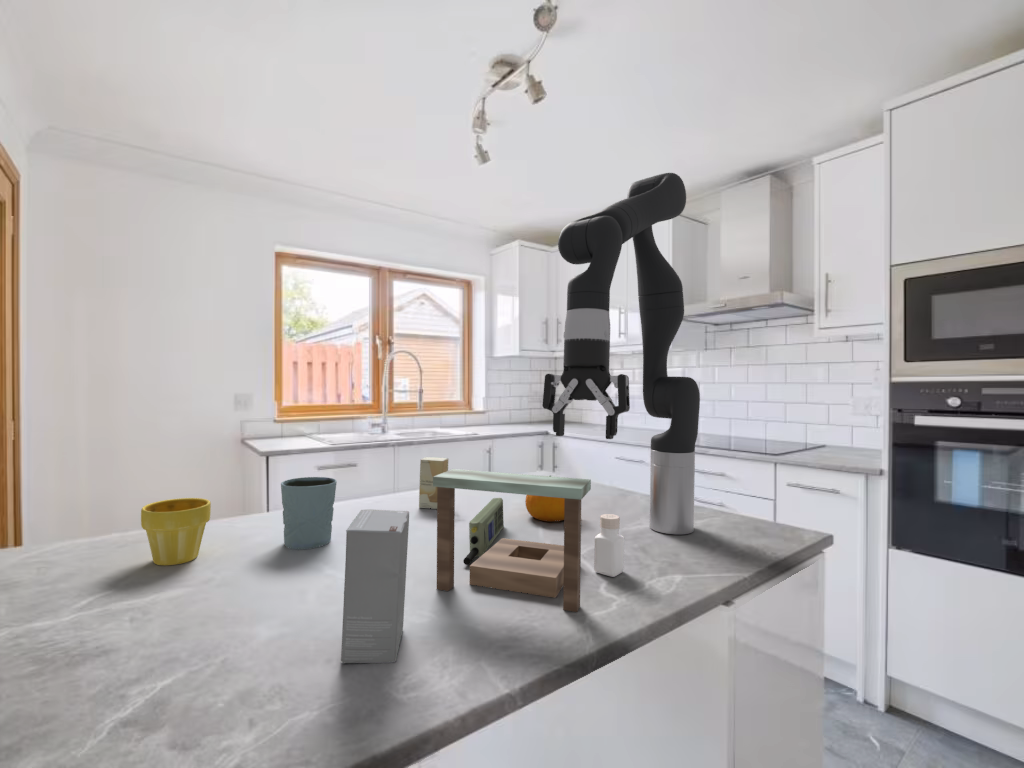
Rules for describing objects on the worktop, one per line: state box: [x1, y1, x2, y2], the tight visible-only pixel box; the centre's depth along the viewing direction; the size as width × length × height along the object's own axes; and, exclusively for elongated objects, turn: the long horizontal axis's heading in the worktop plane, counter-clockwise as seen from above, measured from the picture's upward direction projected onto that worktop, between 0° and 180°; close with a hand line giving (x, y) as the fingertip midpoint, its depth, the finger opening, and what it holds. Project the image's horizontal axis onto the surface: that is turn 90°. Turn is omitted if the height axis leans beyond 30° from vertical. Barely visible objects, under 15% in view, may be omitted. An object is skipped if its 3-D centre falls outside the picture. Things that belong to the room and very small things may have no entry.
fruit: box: [525, 495, 565, 522], centre depth 120 cm, size 12×12×10 cm
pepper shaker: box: [593, 513, 625, 578], centre depth 87 cm, size 4×4×10 cm
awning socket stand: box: [433, 468, 592, 613], centre depth 84 cm, size 19×23×18 cm
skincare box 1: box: [340, 509, 410, 664], centre depth 63 cm, size 8×7×16 cm
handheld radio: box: [462, 497, 505, 566], centre depth 101 cm, size 7×3×25 cm
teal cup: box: [280, 476, 337, 550], centre depth 101 cm, size 10×10×12 cm
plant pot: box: [140, 497, 212, 566], centre depth 91 cm, size 10×10×10 cm
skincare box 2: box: [418, 456, 449, 510], centre depth 129 cm, size 6×4×12 cm
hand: (584, 437), depth 85 cm, fingers open, 8 cm apart
